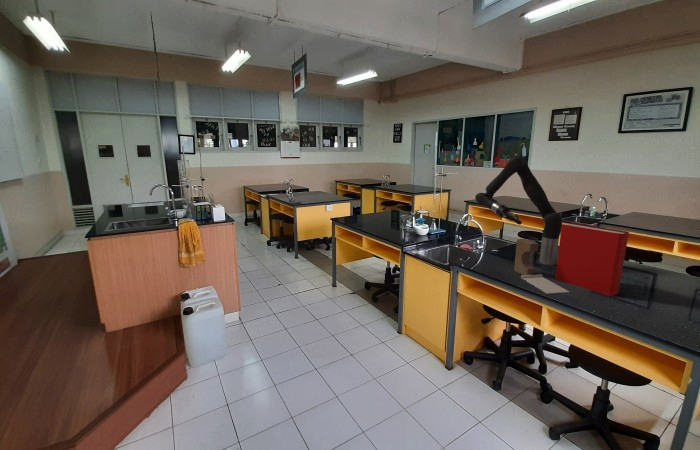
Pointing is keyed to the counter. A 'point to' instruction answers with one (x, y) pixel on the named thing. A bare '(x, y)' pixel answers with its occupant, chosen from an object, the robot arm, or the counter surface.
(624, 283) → the counter surface
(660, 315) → the counter surface
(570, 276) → the book
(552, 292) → the mat
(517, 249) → the decorative block
